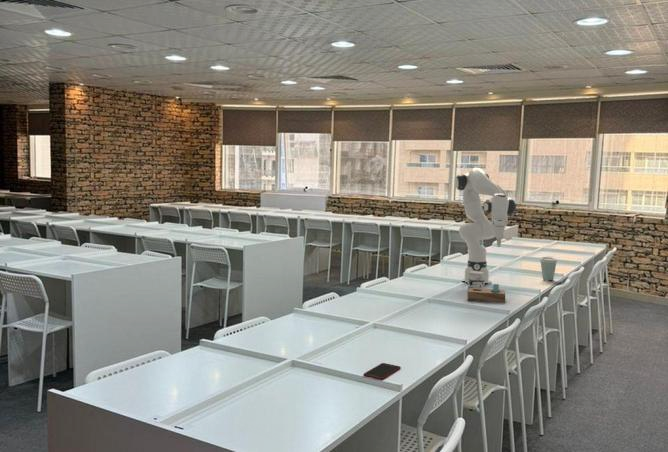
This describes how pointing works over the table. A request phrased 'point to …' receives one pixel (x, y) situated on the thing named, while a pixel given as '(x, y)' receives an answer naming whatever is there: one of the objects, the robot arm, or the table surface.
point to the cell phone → (382, 371)
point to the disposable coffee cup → (548, 267)
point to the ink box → (476, 279)
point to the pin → (495, 287)
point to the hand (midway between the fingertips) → (498, 245)
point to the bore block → (486, 295)
